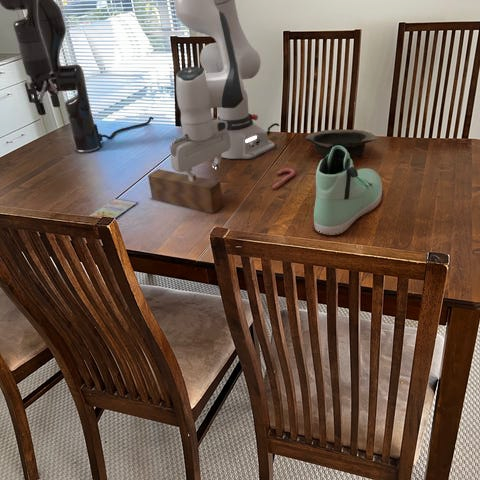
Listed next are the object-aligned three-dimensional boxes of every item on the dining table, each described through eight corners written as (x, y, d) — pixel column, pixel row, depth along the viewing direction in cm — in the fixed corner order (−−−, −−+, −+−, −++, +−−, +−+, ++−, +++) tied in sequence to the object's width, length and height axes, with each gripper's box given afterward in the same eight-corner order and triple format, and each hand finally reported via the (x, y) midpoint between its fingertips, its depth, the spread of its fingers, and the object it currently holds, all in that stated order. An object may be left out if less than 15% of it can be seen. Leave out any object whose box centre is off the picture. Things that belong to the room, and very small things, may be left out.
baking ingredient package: (82, 218, 143) (114, 198, 155) (83, 220, 144) (114, 199, 155) (105, 223, 140) (136, 202, 151) (106, 224, 140) (136, 203, 151)
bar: (152, 198, 154) (147, 175, 149) (162, 192, 157) (158, 169, 153) (212, 213, 142) (210, 188, 138) (222, 206, 146) (220, 181, 142)
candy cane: (259, 187, 155) (259, 183, 155) (283, 170, 165) (283, 166, 165) (275, 190, 152) (275, 186, 151) (298, 173, 162) (298, 169, 162)
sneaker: (389, 187, 148) (396, 123, 138) (356, 242, 123) (361, 168, 112) (346, 181, 154) (350, 119, 144) (306, 232, 129) (307, 161, 118)
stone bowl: (333, 173, 159) (333, 147, 155) (293, 156, 179) (291, 132, 175) (391, 155, 168) (392, 129, 164) (346, 141, 188) (345, 118, 184)
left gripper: (32, 62, 137) (48, 117, 146) (58, 52, 149) (71, 104, 157) (9, 62, 139) (26, 117, 147) (37, 52, 151) (51, 104, 159)
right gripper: (176, 143, 126) (184, 190, 133) (231, 120, 137) (236, 164, 145) (161, 139, 130) (170, 185, 137) (216, 116, 141) (221, 160, 149)
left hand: (49, 110), depth 152 cm, fingers open, 8 cm apart
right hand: (204, 174), depth 141 cm, fingers open, 8 cm apart
